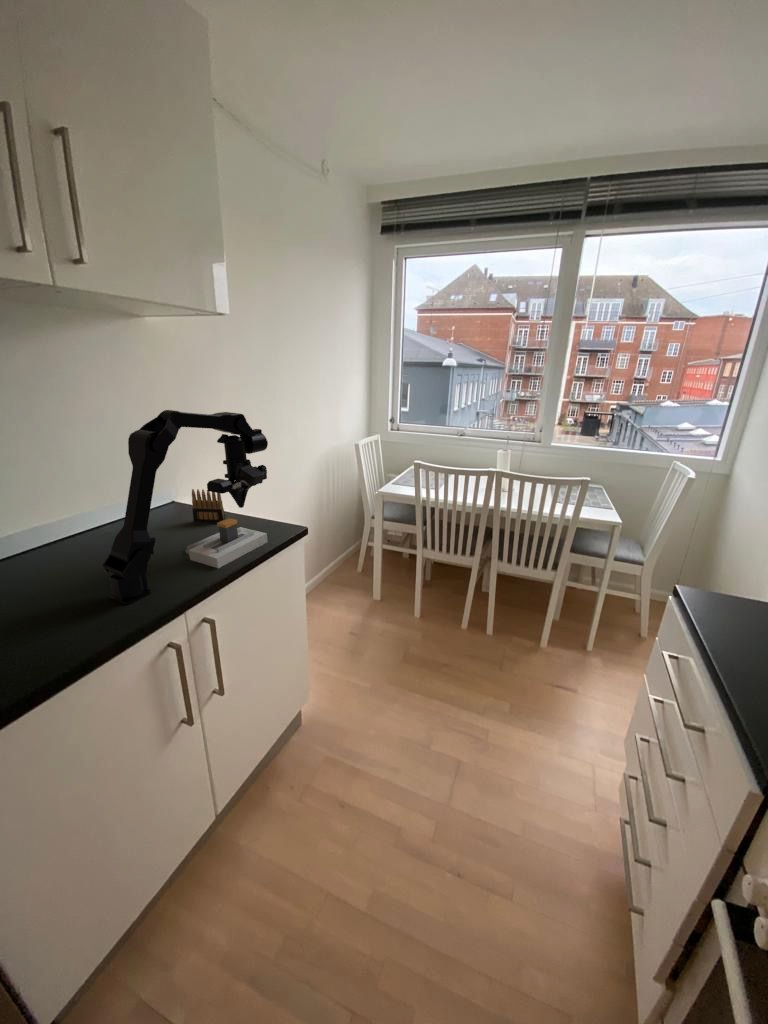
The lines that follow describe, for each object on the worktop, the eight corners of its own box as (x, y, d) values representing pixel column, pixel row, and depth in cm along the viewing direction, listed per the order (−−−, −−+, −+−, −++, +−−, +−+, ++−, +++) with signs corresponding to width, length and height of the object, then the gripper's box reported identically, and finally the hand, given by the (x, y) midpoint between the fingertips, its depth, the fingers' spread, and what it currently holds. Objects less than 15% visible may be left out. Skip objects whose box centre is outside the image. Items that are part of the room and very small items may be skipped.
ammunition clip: (193, 522, 147) (188, 489, 143) (196, 520, 148) (191, 488, 144) (223, 523, 146) (219, 490, 142) (225, 521, 148) (222, 488, 144)
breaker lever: (228, 543, 122) (225, 524, 120) (219, 541, 123) (217, 522, 121) (239, 538, 126) (237, 520, 124) (230, 536, 127) (228, 518, 125)
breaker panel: (218, 568, 115) (216, 555, 114) (190, 559, 120) (188, 547, 118) (267, 542, 132) (266, 530, 131) (241, 535, 136) (239, 524, 135)
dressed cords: (189, 555, 122) (188, 550, 122) (181, 552, 124) (180, 548, 123) (231, 535, 136) (231, 531, 136) (224, 533, 138) (224, 529, 137)
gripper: (232, 466, 110) (238, 521, 115) (279, 453, 126) (282, 502, 131) (202, 461, 115) (209, 515, 120) (250, 450, 130) (255, 497, 136)
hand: (241, 507), depth 127 cm, fingers closed
